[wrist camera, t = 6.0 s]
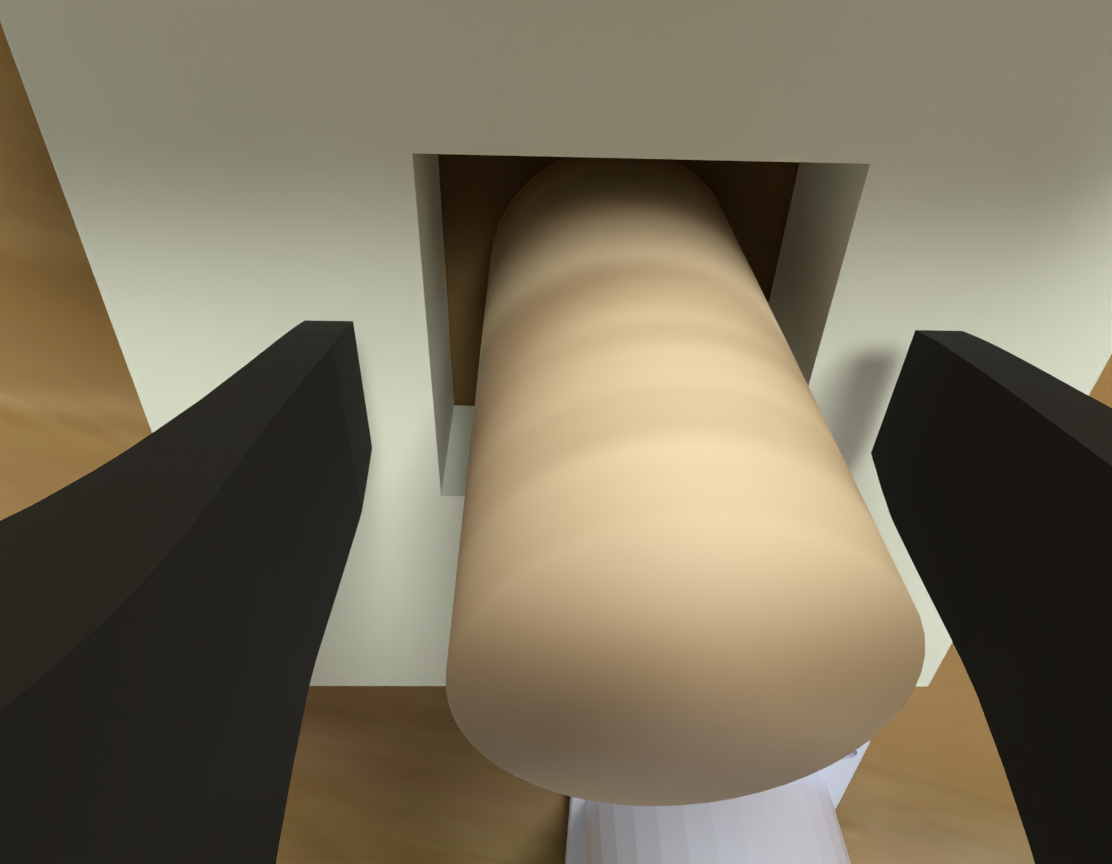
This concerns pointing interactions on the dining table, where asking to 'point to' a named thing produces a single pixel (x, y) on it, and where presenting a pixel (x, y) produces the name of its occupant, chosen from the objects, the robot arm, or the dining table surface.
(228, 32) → the socket board
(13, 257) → the dining table surface
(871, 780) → the dining table surface
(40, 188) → the dining table surface
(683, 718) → the peg
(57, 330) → the dining table surface
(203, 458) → the robot arm
